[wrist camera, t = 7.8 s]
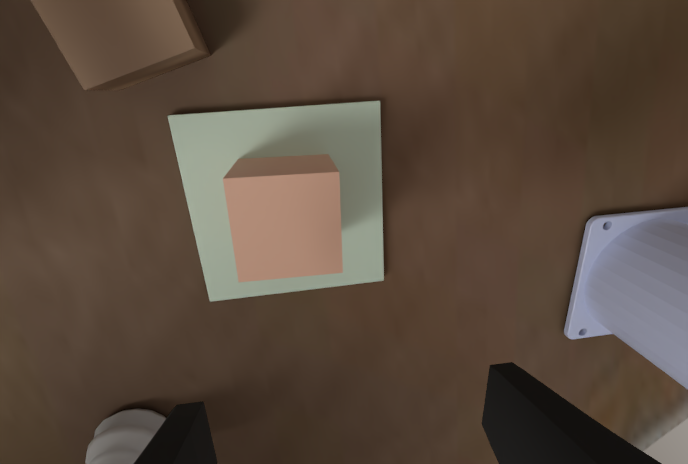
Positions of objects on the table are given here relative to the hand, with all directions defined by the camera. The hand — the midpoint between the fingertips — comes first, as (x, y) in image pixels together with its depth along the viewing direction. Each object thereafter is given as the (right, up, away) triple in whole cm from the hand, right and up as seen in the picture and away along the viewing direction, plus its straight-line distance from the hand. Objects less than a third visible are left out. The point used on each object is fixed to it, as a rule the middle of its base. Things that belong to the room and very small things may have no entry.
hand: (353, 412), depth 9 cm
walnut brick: (-8, +13, +5) cm, 16 cm away
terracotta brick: (-3, +6, +8) cm, 10 cm away
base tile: (-3, +6, +9) cm, 11 cm away
